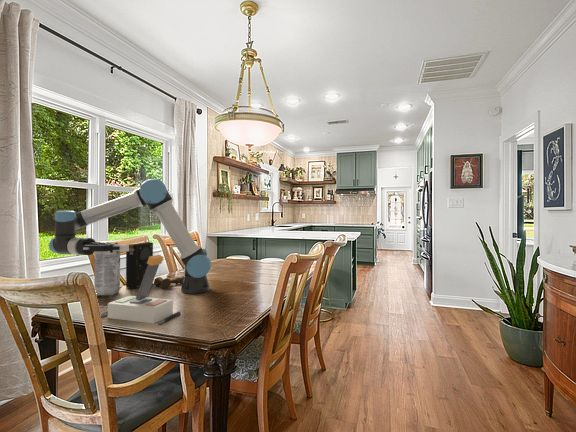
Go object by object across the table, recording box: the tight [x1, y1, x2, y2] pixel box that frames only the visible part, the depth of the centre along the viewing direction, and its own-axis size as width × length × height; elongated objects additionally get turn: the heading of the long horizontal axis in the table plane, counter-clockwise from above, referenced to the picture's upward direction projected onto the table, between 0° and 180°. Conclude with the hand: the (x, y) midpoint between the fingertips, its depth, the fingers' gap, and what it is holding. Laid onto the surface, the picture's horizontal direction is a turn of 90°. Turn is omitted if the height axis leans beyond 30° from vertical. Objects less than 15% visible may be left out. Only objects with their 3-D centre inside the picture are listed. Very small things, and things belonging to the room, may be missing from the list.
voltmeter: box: [125, 241, 154, 290], centre depth 182 cm, size 16×9×25 cm, turn 168°
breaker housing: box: [107, 295, 174, 324], centre depth 130 cm, size 22×12×7 cm, turn 75°
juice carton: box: [94, 241, 121, 296], centre depth 164 cm, size 9×10×27 cm
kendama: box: [152, 275, 185, 290], centre depth 182 cm, size 6×10×20 cm
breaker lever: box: [136, 254, 164, 301], centre depth 129 cm, size 2×6×19 cm, turn 165°
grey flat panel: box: [100, 310, 181, 326], centre depth 131 cm, size 29×13×1 cm, turn 75°
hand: (127, 248), depth 131 cm, fingers closed
